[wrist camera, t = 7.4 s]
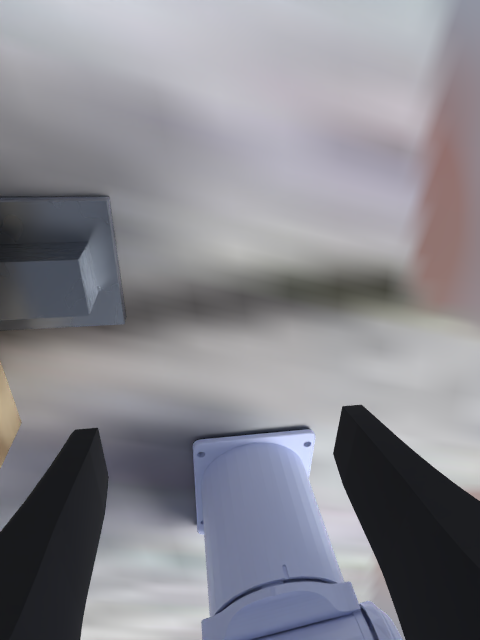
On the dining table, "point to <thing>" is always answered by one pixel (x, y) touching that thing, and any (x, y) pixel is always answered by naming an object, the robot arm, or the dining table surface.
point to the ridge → (58, 263)
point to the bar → (7, 417)
